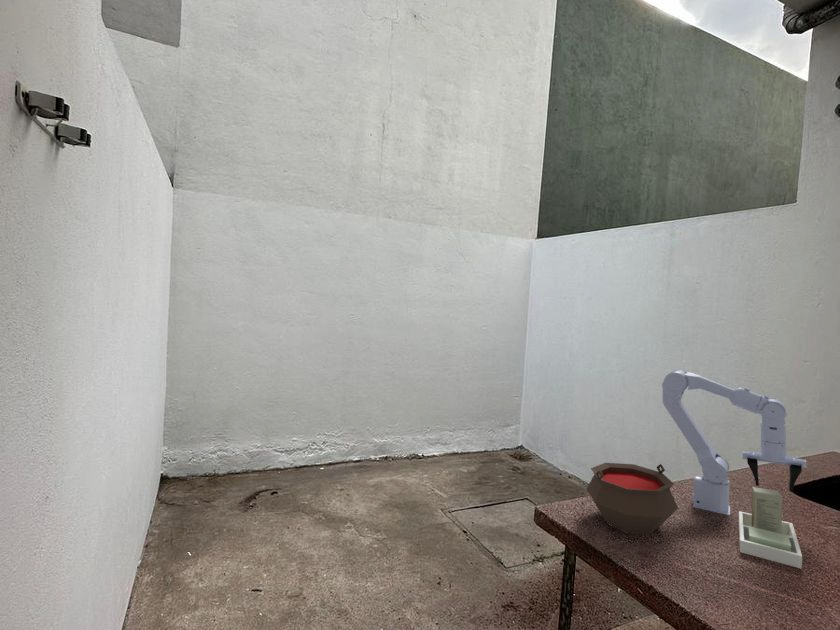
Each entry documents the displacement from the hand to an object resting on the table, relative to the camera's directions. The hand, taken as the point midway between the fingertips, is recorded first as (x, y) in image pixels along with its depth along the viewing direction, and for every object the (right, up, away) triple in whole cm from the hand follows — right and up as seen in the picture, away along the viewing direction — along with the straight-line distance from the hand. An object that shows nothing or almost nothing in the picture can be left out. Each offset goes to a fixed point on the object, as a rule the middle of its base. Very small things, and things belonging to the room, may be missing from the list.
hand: (773, 487), depth 130 cm
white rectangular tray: (-11, -11, -12) cm, 19 cm away
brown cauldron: (-43, -10, -1) cm, 44 cm away
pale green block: (-14, -10, -16) cm, 23 cm away
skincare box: (-8, -10, -8) cm, 15 cm away
